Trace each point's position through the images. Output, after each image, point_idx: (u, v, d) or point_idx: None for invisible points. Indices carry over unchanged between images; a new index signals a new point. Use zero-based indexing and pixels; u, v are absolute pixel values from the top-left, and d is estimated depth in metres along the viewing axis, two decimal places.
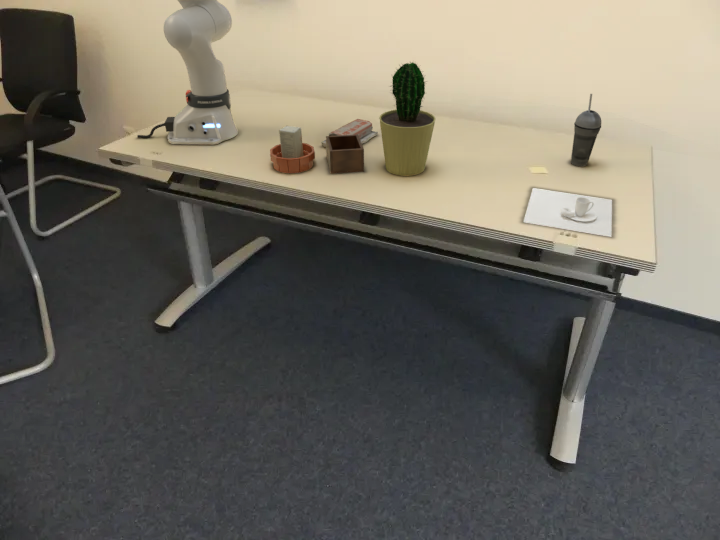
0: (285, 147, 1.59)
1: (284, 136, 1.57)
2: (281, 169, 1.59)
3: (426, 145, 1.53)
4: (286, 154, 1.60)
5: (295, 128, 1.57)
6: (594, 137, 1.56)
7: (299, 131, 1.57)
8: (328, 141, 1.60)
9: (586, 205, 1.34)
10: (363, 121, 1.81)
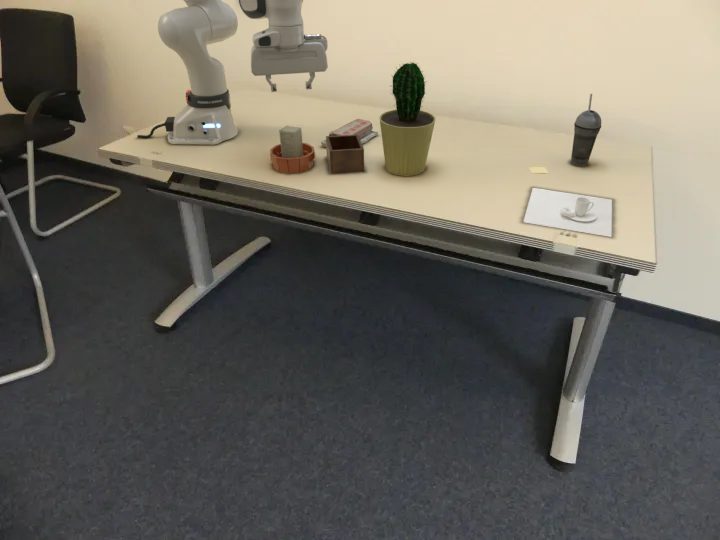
0: (285, 147, 1.59)
1: (284, 136, 1.57)
2: (281, 169, 1.59)
3: (426, 145, 1.53)
4: (286, 154, 1.60)
5: (295, 128, 1.57)
6: (594, 137, 1.56)
7: (299, 131, 1.57)
8: (328, 141, 1.60)
9: (586, 205, 1.34)
10: (363, 121, 1.81)
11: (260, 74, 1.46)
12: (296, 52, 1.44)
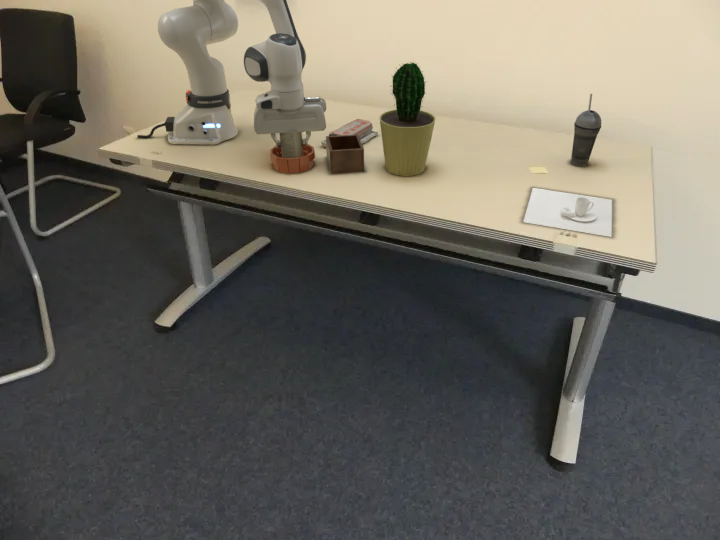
0: (285, 147, 1.59)
1: (284, 136, 1.57)
2: (281, 169, 1.59)
3: (426, 145, 1.53)
4: (286, 154, 1.60)
5: None
6: (594, 137, 1.56)
7: None
8: (328, 141, 1.60)
9: (586, 205, 1.34)
10: (363, 121, 1.81)
11: (262, 133, 1.55)
12: (296, 113, 1.53)
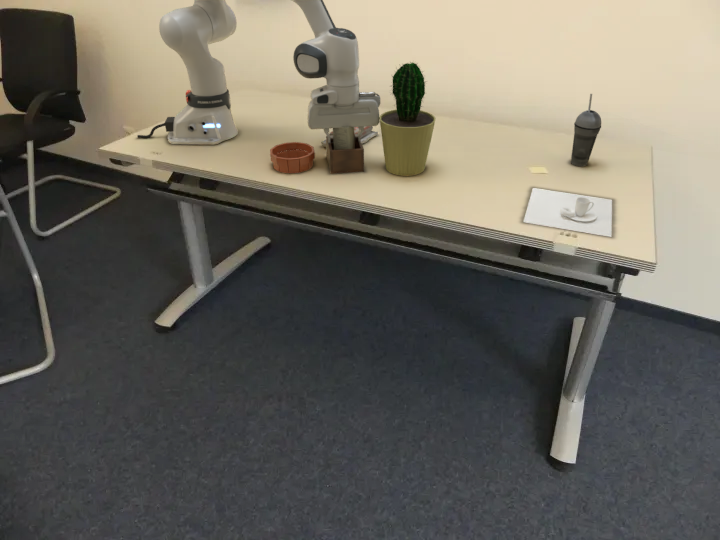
0: (338, 143, 1.58)
1: (337, 131, 1.56)
2: (281, 169, 1.59)
3: (426, 145, 1.53)
4: (338, 149, 1.59)
5: None
6: (594, 137, 1.56)
7: None
8: None
9: (586, 205, 1.34)
10: None
11: (316, 128, 1.54)
12: (351, 108, 1.53)
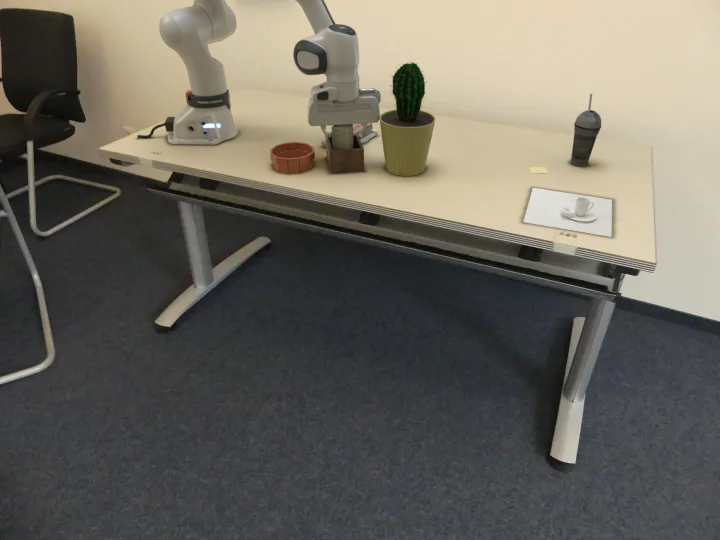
0: (337, 144, 1.58)
1: (336, 133, 1.57)
2: (281, 169, 1.59)
3: (426, 145, 1.53)
4: None
5: (347, 125, 1.57)
6: (594, 137, 1.56)
7: (351, 128, 1.57)
8: (328, 141, 1.60)
9: (586, 205, 1.34)
10: None
11: (316, 125, 1.54)
12: (351, 105, 1.52)
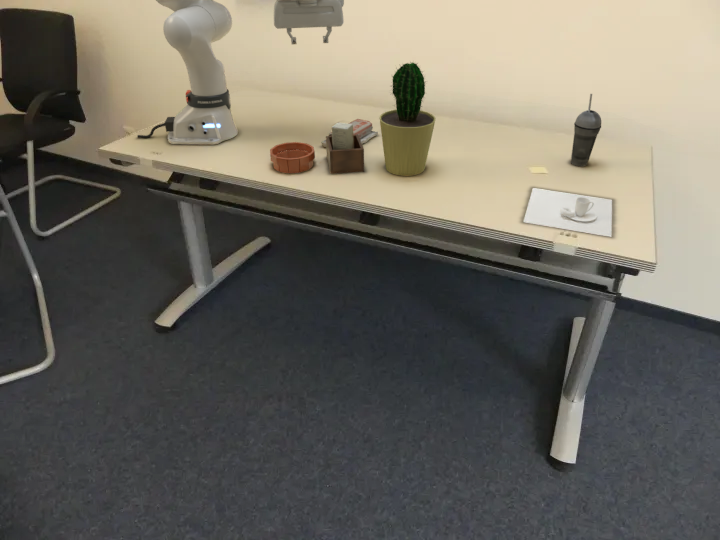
0: (337, 144, 1.58)
1: (336, 133, 1.57)
2: (281, 169, 1.59)
3: (426, 145, 1.53)
4: None
5: (347, 125, 1.57)
6: (594, 137, 1.56)
7: (351, 128, 1.57)
8: (328, 141, 1.60)
9: (586, 205, 1.34)
10: (363, 121, 1.81)
11: (282, 27, 1.60)
12: (315, 7, 1.58)
